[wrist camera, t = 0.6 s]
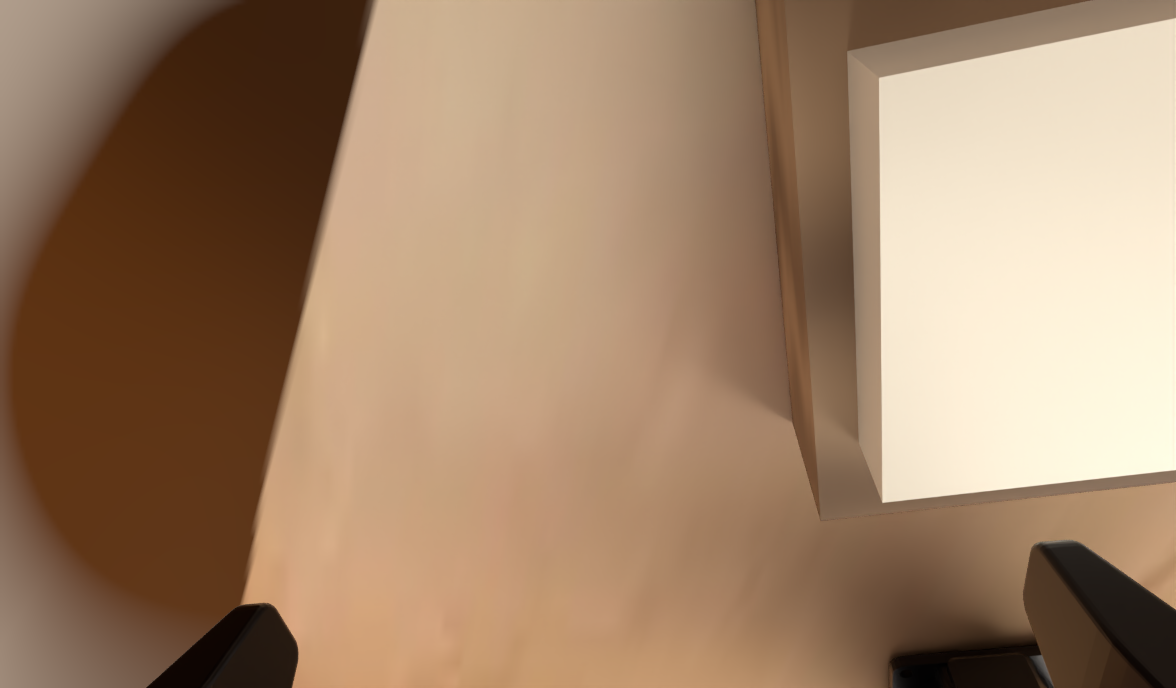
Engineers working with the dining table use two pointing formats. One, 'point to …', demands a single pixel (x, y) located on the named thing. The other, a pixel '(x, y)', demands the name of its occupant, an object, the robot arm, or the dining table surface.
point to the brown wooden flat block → (846, 230)
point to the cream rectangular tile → (1016, 250)
